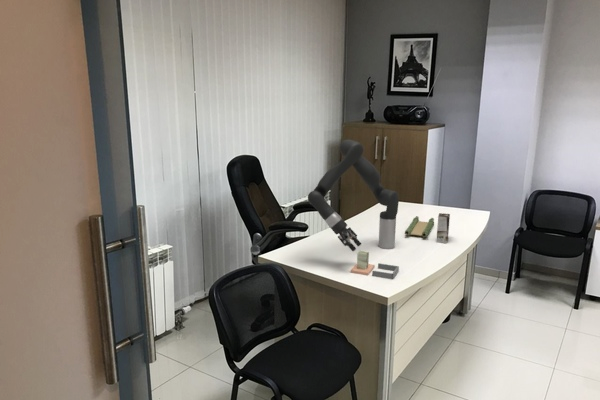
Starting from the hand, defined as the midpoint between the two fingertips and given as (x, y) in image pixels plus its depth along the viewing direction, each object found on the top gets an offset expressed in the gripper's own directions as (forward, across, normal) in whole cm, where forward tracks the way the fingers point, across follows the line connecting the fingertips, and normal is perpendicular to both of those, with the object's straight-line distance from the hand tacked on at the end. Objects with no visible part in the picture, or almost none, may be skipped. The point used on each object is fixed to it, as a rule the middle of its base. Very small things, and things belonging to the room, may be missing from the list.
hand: (357, 247), depth 225 cm
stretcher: (+21, +82, -4) cm, 85 cm away
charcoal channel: (+18, 0, -2) cm, 18 cm away
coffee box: (+32, +66, -16) cm, 75 cm away
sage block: (+9, 0, +5) cm, 10 cm away
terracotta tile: (+10, 0, +6) cm, 12 cm away
